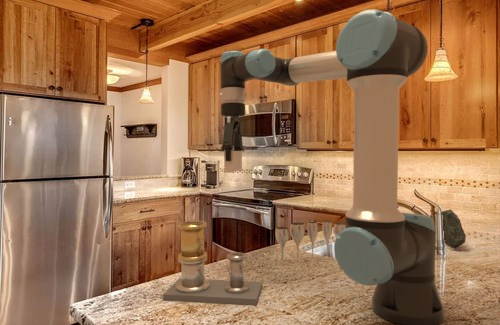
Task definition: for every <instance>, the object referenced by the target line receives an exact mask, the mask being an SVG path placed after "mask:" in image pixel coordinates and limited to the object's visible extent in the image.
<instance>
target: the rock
mask: <svg viewBox="0 0 500 325" xmlns="http://www.w3.org/2000/svg"><path fill="white" fill-rule="evenodd" d="M441 213H442V215H443V231H444V239H443V241H444V242H445V243H446V244H447V245H448V246H449V247H451V248H458V247H460V246H462V245H463V244H465V243H466V238H467V235H466V233H465V231H464V228H463V227H462V223H461V219H460V218H459V216H458V215H457V214H456V213H455V212H454V211H453V210H452V209H448V210H446V209H445V210H443V211H442V212H441Z"/></svg>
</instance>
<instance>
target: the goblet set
mask: <svg viewBox="0 0 500 325" xmlns="http://www.w3.org/2000/svg"><path fill="white" fill-rule="evenodd" d="M332 223H333V222H332V221H328V220H326V221H325V220H324V221H322V226H321V228H322V229H321V230H322V234H323V238H324V239H325V243H326V256H322V257H321V259H323V260H325V261H331V260H333V259H334V257H332V256H329V241H330V239H331V236H332V233H333V234H334V236H335V238H336V237H337V236H338V235H339V234H340V232H341V231H342V230H343V229H345V222H336V223H334V226H333V224H332ZM318 226H319V224H318V222H317V221H313V220H312V221H308V222H307V230H306V224H305V223H304V222H290V226H289V227H287V226H277V227H276V228H275V233H274V234H275V239H276V241H277V243H278V244H279V246H280V250H281V260H280V259H279V260H276V262H275V263H276V264H277V265H288V264H290V262H292V263H294V264H302V263H305V262H306V261H305V260H304V259H302V258H301V259H300V258H299V248H300V244H301V243H302V241H303V239H304V237H305V234H306V231H307V235H308V238H309V240H310V242H311V249H312V251H311V253H312V254H311V257H308V258H307V259H306V260H307V261H309V262H318V261H319V259H318V258H315V257H314V246H315V245H314V244H315V241H316V239H317V237H318V234H319V227H318ZM290 236H291V238H292V240H293V241H294V243H295V245H296V254H297V255H296V256H297V257H296V258H293V259H291V260H290V262H289V261H288V260H284V248H285V246H286V244H287V242H288V241H289V239H290Z"/></svg>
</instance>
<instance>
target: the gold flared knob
mask: <svg viewBox="0 0 500 325" xmlns="http://www.w3.org/2000/svg"><path fill="white" fill-rule="evenodd" d="M205 228H207V222H206V221H204V220H203V221H202V220H189V221H188V220H187V221H181V222H178V223H177V229H179V230H180V251H181V252H179V253H178V255H177V256H178V257H177V258H178V259H179V260H181V261H189V262H190V261H200V260H203V259H205V258H207V259H208V253H207V252H206V251H205V245H204V244H205V241H204V240H205V236H204V233H205V230H204V229H205Z"/></svg>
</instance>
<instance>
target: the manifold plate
mask: <svg viewBox="0 0 500 325" xmlns="http://www.w3.org/2000/svg"><path fill="white" fill-rule="evenodd" d="M205 279H206V278H205ZM181 280H182V277H180V278H178V279H177V280H176V281H175V282H174V283H173V284H172V285H170V286H169V288H168V289H166V290H165V292H163V293H162V300H163V301H170V302H171V301H175V302H193V303H206V304H207V303H208V304H211V303H212V304H226V305H227V304H228V305H242V306H243V305H245V306H257V305H258V301H259V298H260V296H261V292H262V290H263V281H253V280H251V281H245V280H244V282H245V283H247V284H248V285H249V290H248V291H247V292H244V293H239V294H233V293H228V292H226V291H225V285H226V284H227V283H230V279H227V280H225V279H206V280H208V281H209V282H210V287H209V288H208V289H207V290H205V291H202V292H198V293H182V292H179V291H177V290H176V284H177V283H178V282H179V281H181Z"/></svg>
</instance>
